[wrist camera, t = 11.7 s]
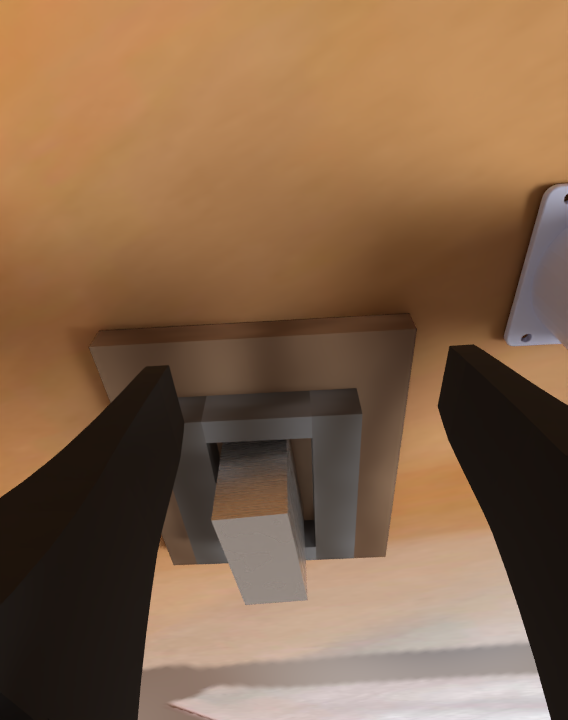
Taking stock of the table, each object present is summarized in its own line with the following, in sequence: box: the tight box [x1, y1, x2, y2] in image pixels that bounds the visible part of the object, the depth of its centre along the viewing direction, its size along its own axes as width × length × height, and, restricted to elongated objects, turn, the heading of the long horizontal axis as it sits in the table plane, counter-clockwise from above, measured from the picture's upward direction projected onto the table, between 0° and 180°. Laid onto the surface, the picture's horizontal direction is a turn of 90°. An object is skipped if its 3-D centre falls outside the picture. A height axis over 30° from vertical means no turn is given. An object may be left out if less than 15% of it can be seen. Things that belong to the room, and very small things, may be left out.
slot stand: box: [89, 313, 417, 565], centre depth 27 cm, size 16×20×4 cm
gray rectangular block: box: [211, 439, 308, 605], centre depth 24 cm, size 4×8×6 cm, turn 8°
